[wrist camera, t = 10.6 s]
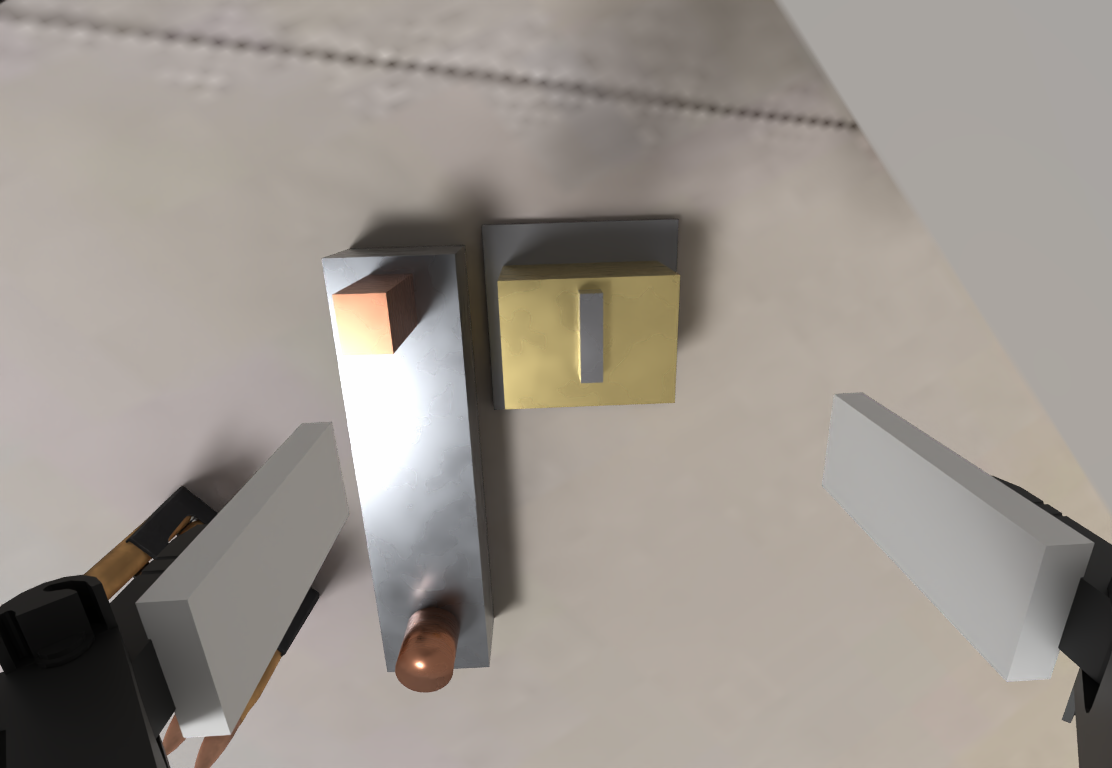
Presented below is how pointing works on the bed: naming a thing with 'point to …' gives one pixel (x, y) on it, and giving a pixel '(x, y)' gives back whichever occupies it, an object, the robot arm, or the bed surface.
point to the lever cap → (588, 334)
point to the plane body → (416, 452)
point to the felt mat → (566, 258)
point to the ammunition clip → (144, 546)
